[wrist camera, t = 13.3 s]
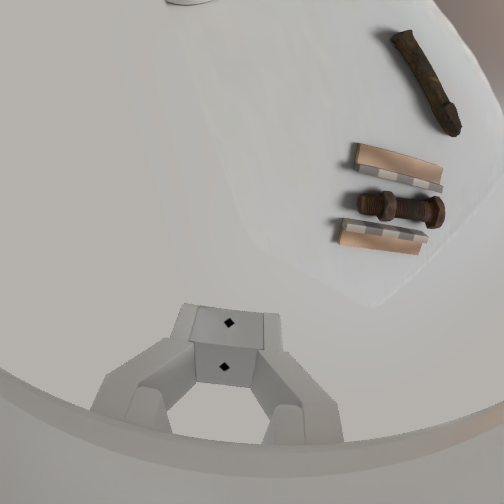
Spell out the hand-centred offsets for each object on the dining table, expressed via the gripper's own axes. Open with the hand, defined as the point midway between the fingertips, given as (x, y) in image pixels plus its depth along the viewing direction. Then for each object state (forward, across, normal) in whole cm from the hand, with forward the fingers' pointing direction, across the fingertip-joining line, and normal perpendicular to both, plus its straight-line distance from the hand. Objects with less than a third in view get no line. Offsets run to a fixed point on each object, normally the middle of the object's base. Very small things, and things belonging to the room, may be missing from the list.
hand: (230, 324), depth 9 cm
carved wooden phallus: (+34, -26, -19) cm, 47 cm away
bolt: (+34, -24, +3) cm, 42 cm away
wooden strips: (+34, -23, +3) cm, 41 cm away
